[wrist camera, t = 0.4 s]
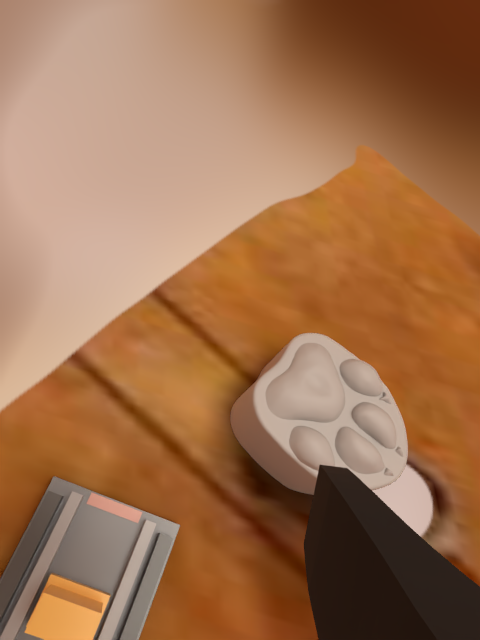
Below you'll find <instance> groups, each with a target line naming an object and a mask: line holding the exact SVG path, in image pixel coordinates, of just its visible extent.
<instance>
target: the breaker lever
mask: <svg viewBox="0 0 480 640" xmlns="http://www.w3.org/2000/svg"><path fill="white" fill-rule="evenodd" d="M110 596H111V594H109V593H106V592H103V591H101V590H98V589H95V588H92V587H90V586H87V585H84V584H82V583H79V582H76V581H73V580H71V579H68V578H65V577H62V576H60V575H57V574H54V573H51V575H50V577H49V579H48V581H47V583H46V585H45V587H44V589H43V591H42V594H41V596H40V598H39V600H38V602H37V604H36V606H35V608H34V610H33V613H32V615H31V617H30V619H29V621H28V623H27V625H26V627H27V628H26V630H25V632H24V633H27V634H30V635H33V636H36V637H39V638H41V639H44V640H93V638H94V635H95V633H96V630H97V628H98V626H99V623H100V621H101V618H102V616H103V613H104V611H105V608H106V606H107V603H108V601H109V598H110Z"/></svg>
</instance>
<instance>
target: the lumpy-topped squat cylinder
mask: <svg viewBox="0 0 480 640" xmlns="http://www.w3.org/2000/svg"><path fill="white" fill-rule="evenodd" d="M230 421H231V427H232V430H233V433H234V435H235V437H236V439H237V440H238V442H239V443H240V444H241V446H242V447H243V448H244V449H245V450H246V451H247V452H248V453H249V454H250V456H251V457H252V458H253V459H254V460H255V461H256V462H257V463H258V464H259V465H260V466H261V467H262V468H263V469H264V470H265V471H267V472H268V473H269V474H270V475H271V476H272V477H274V478H275V479H276V480H277V481H279V482H280V483H281V484H283V485H284V486H286V487H287V488H289V489H291V490H294V491H297V492H302V493H306V494H312V495H314V490H315V485H316V480H317V475H318V470H319V465H327V466H335V467H343V468H348V469H349V470H350V471H351V472H353V473H354V474H355V475H356V476H357V477H358V478H359V479H360V480H361V481H362V482H363V483H364V484H365V485H366V486H367V487H369V488H370V489H371V490H376V489H379V488H382V487H385V486H387V485H390V484H391V483H393V482H394V481H396V480H397V479H398V478H399V477H400V476H401V474H402V472H403V470H404V468H405V466H406V462H407V456H408V444H407V436H406V429H405V425H404V422H403V419H402V416H401V414H400V411H399V409H398V407H397V405H396V403H395V401H394V399H393V397H392V395H391V393H390V391H389V390H388V388H387V387H386V385H385V384H384V383H383V382H382V381H381V380H380V377H379V375H378V373H377V372H376V370H375V369H374V368H373V367H372V366H371V365H369V364H368V363H366V362H364V361H361V360H359V359H358V358H357V357H356V356H355V355H353V354H352V353H350V352H349V351H348V350H346V349H345V348H344V347H343V346H341V345H340V344H338V343H337V342H336V341H334V340H332V339H331V338H329V337H327V336H325V335H322V334H318V333H304V334H300V335H298V336H296V337H294V338H293V339H292V340H291V341H290V342H289V343H288V344H287V345H286V346H285V347H284V348H283V349H282V350H281V351H280V352H279V353H278V354H277V355H276V356H275V357H274V358H273V359H272V360H271V361H270V362H269V363H268V364H267V365H266V366H265V367H264V368H263V370H262V372H261V373H260V375H259V377H258V378H257V380H256V382H255V383H254V384H252V385H251V386H250V387H249V388H248V389H247V390H246V391H245V392H244V393H243V394H242V395H241V396H240V397H239V398H238V399H237V400H236V402H235V403H234V405H233V406H232V409H231V414H230Z"/></svg>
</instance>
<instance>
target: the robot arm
mask: <svg viewBox="0 0 480 640" xmlns="http://www.w3.org/2000/svg"><path fill="white" fill-rule="evenodd" d="M304 552H305V563H306V573H307V582H308V591H309V596H310V601H311V606H312V611H313V615H314V620H315V625H316V629H317V634H318V638H319V640H480V587H479V586H478V585H477V584H476V583H474V582H473V581H472V580H471V579H469V578H468V577H467V576H466V575H464V574H463V573H462V572H461V571H459V570H458V569H457V568H456V567H455V566H454V565H452V564H451V563H450V562H449V561H448V560H447V559H445V558H444V557H443V556H442V555H441V554H439V553H438V552H437V551H436V550H435V549H434V548H432V547H431V546H430V545H429V544H428V543H427V542H426V541H425V540H423V539H422V538H421V537H420V536H419V535H418V534H417V533H416V532H414V531H413V530H412V529H411V528H410V527H409V526H408V525H407V524H406V523H405V522H404V521H403V520H402V519H401V518H400V517H398V516H397V515H396V514H395V513H394V512H393V511H392V510H391V509H390V508H389V507H388V506H387V505H386V504H385V503H384V502H383V501H382V500H381V499H380V498H379V497H378V496H377V495H375V493H374V492H372V490H371V489H370V488H369V487H367V486H366V485H365V484H364V483H363V482H362V481H361V480H360V479H359V478H358V477H357V476H356V475H355V474H354V473H353V472H351V471H350V470H349V469H348V468H343V467H335V466H327V465H319V470H318V475H317V480H316V485H315V490H314V495H313V500H312V505H311V510H310V515H309V520H308V525H307V530H306V535H305V540H304Z"/></svg>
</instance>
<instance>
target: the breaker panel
mask: <svg viewBox="0 0 480 640" xmlns="http://www.w3.org/2000/svg"><path fill="white" fill-rule="evenodd" d="M179 527H180V525H179V524H176V523H173V522H171V521H168V520H166V519H163V518H161V517H158V516H155V515H153V514H150V513H148V512H145V511H142V510H140V509H137V508H135V507H132V506H130V505H127V504H124V503H122V502H119V501H117V500H114V499H111V498H109V497H106V496H104V495H101V494H99V493H96V492H93V491H91V490H88V489H86V488H83V487H80V486H78V485H75V484H73V483H70V482H68V481H65V480H62V479H60V478H57V477H55V476H54V477H53V479H52V481H51V483H50V485H49V487H48V488H47V490H46V492H45V494H44V496H43V498H42V500H41V502H40V504H39V506H38V508H37V510H36V511H35V513H34V515H33V517H32V519H31V521H30V523H29V525H28V527H27V529H26V531H25V533H24V534H23V536H22V538H21V540H20V542H19V544H18V546H17V548H16V550H15V552H14V554H13V556H12V557H11V559H10V561H9V563H8V565H7V567H6V569H5V571H4V573H3V575H2V577H1V579H0V640H44V639H41V638H39V637H36V636H33V635H30V634H27V633H24V632H25V630H26V628H27V627H26V625H27V623H28V621H29V619H30V617H31V615H32V613H33V610H34V608H35V606H36V604H37V602H38V600H39V598H40V596H41V594H42V591H43V589H44V587H45V585H46V583H47V581H48V579H49V577H50V575H51V573H54V574H57V575H60V576H62V577H65V578H68V579H71V580H73V581H76V582H79V583H82V584H84V585H87V586H90V587H92V588H95V589H98V590H101V591H103V592H106V593H109V594H111V596H110V598H109V601H108V603H107V606H106V608H105V611H104V613H103V616H102V618H101V621H100V623H99V626H98V628H97V630H96V633H95V635H94V638H93V640H139V637H140V634H141V632H142V629H143V626H144V623H145V621H146V618H147V615H148V612H149V610H150V607H151V604H152V601H153V599H154V596H155V593H156V590H157V588H158V585H159V582H160V579H161V577H162V574H163V571H164V568H165V566H166V563H167V560H168V557H169V555H170V552H171V549H172V546H173V544H174V541H175V538H176V535H177V533H178V530H179Z"/></svg>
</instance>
